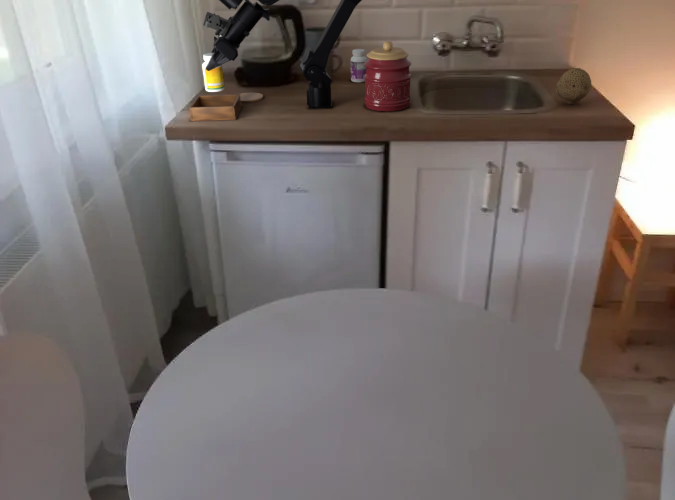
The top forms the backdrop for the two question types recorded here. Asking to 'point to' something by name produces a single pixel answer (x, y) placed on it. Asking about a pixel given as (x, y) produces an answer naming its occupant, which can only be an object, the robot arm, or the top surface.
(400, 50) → the kitchen canister
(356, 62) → the pill bottle
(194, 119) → the wooden tray
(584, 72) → the natural sponge
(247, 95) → the coaster
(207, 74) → the supplement bottle
